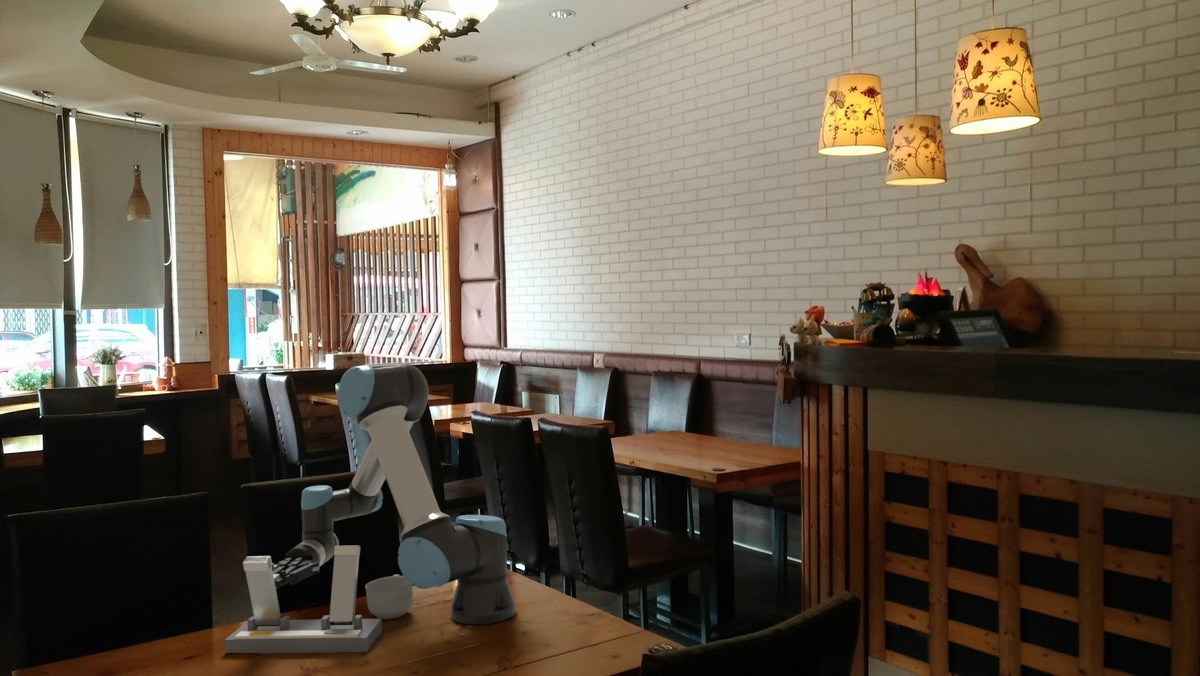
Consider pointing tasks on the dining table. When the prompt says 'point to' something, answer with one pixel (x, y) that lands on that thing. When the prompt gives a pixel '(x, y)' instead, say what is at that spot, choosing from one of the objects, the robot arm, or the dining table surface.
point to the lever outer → (262, 590)
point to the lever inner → (344, 585)
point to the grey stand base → (304, 636)
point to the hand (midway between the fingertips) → (264, 589)
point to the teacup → (389, 596)
